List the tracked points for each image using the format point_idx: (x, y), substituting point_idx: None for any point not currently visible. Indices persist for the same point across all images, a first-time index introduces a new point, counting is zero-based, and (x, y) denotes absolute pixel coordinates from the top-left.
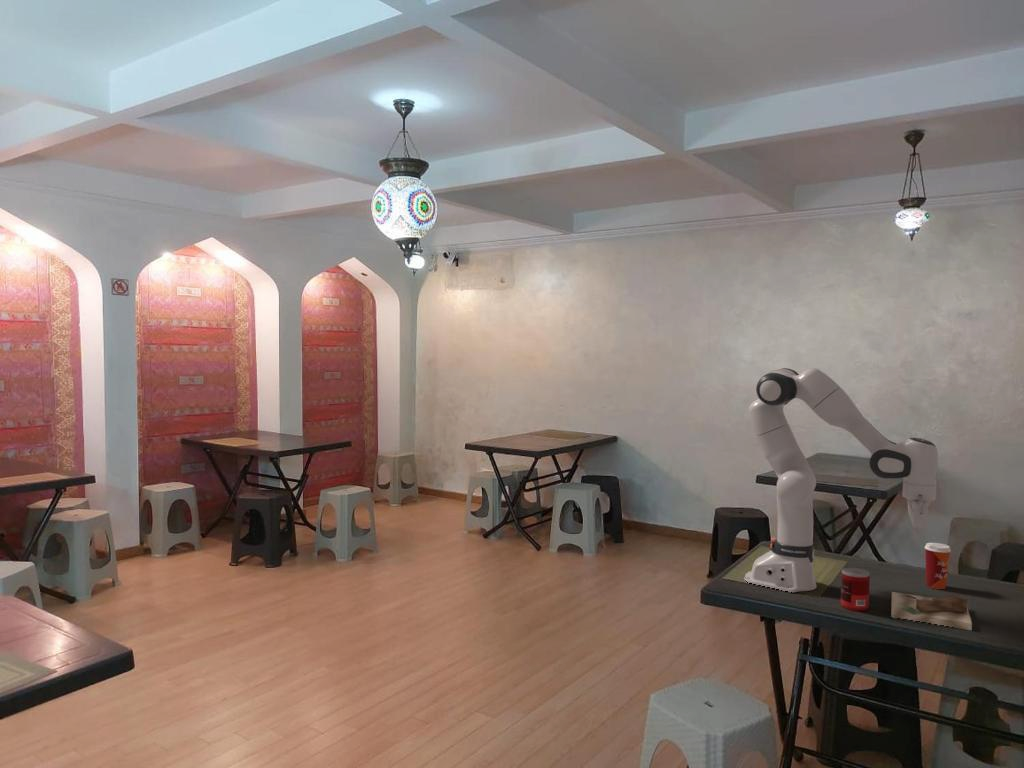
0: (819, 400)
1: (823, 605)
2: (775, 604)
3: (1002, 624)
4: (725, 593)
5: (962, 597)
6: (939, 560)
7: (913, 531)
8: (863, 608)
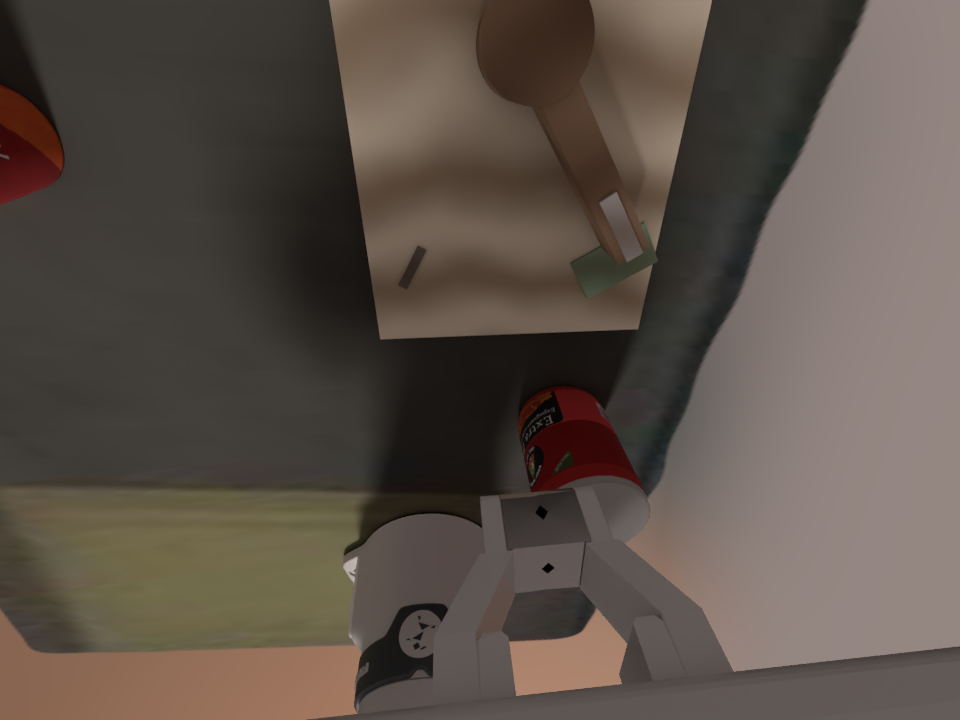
0: None
1: None
2: None
3: None
4: (582, 619)
5: (522, 1)
6: None
7: (535, 590)
8: (596, 399)
